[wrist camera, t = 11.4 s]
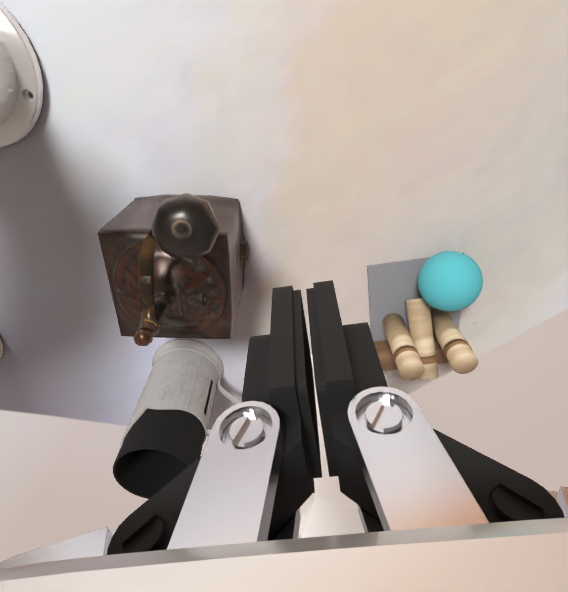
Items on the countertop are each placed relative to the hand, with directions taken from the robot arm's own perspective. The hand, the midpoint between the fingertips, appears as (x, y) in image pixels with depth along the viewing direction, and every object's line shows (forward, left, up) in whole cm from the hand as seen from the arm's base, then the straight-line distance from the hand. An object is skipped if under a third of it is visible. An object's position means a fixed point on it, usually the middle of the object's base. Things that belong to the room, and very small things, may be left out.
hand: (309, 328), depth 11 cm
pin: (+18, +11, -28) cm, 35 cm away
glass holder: (+25, -14, -29) cm, 41 cm away
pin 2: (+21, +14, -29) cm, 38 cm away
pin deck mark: (+19, +11, -29) cm, 36 cm away
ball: (+15, +14, -26) cm, 33 cm away
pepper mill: (+6, -11, -29) cm, 32 cm away
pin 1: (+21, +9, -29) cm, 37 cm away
